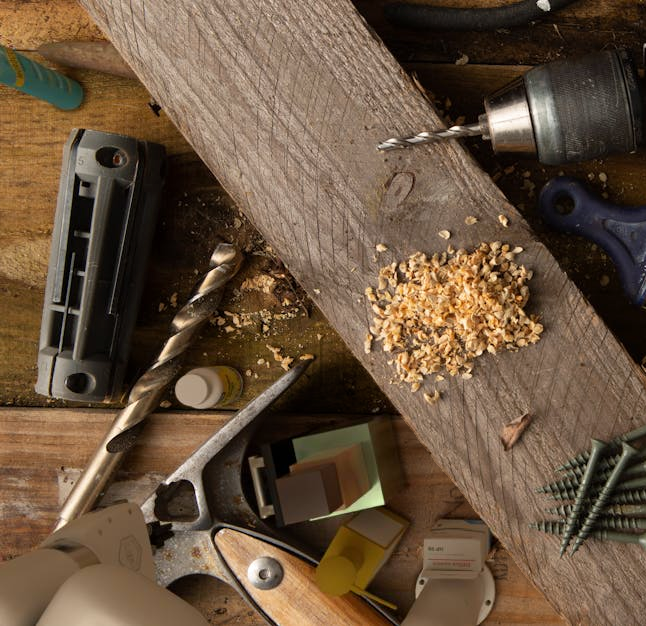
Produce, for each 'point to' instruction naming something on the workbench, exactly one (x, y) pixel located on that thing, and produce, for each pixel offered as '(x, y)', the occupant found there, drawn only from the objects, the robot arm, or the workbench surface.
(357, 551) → the soap bottle
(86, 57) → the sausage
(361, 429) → the oven
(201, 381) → the pill bottle
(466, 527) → the ink box
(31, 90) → the tube
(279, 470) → the oven door
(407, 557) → the workbench surface
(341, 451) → the riser
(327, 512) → the block
